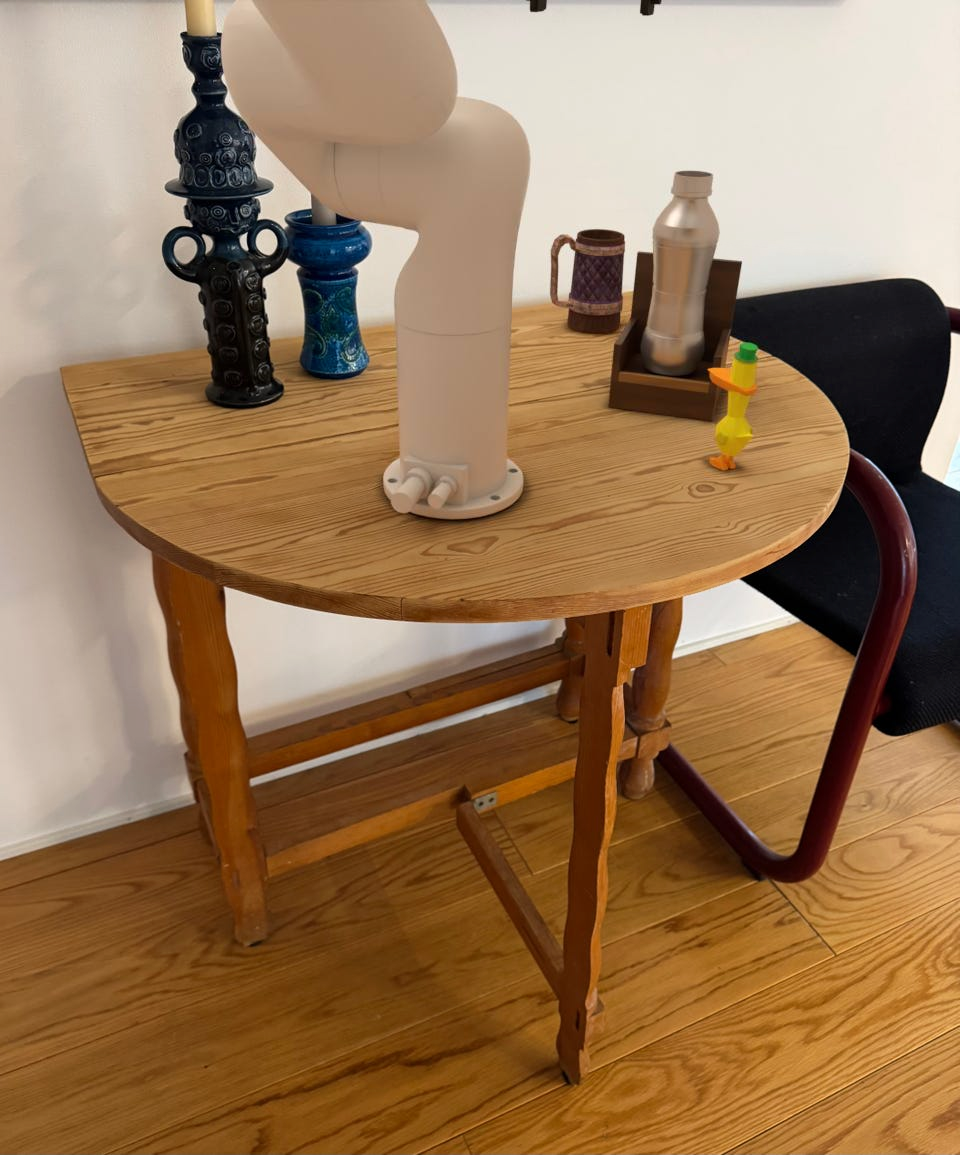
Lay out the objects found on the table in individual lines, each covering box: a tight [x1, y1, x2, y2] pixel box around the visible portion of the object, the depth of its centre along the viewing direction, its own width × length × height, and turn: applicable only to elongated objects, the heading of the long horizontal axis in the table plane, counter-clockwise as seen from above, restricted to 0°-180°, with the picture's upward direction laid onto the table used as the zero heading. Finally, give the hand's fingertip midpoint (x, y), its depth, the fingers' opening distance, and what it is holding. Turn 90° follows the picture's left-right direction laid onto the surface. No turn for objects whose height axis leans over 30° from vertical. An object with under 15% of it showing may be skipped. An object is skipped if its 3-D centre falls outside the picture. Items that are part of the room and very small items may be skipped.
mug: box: [549, 228, 626, 335], centre depth 121 cm, size 10×7×12 cm
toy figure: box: [708, 342, 759, 472], centre depth 87 cm, size 7×4×12 cm, turn 30°
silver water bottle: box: [641, 170, 721, 376], centre depth 97 cm, size 6×7×20 cm
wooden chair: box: [607, 250, 743, 422], centre depth 101 cm, size 10×11×14 cm
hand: (591, 13), depth 82 cm, fingers open, 9 cm apart
